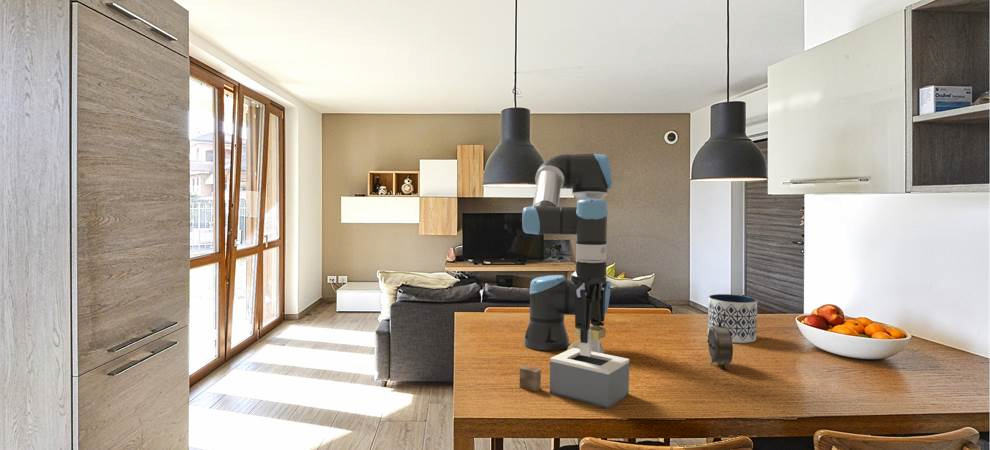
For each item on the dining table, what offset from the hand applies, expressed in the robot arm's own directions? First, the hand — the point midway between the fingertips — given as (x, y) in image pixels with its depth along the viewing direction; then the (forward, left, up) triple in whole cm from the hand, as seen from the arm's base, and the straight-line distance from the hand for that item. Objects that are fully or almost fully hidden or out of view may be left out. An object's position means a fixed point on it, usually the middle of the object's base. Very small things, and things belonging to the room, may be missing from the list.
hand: (589, 352), depth 130 cm
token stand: (-14, -6, -11) cm, 19 cm away
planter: (+15, +81, -11) cm, 83 cm away
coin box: (0, 0, -11) cm, 11 cm away
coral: (-10, +17, -11) cm, 23 cm away
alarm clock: (+20, +44, -11) cm, 50 cm away
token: (0, 0, +4) cm, 4 cm away
